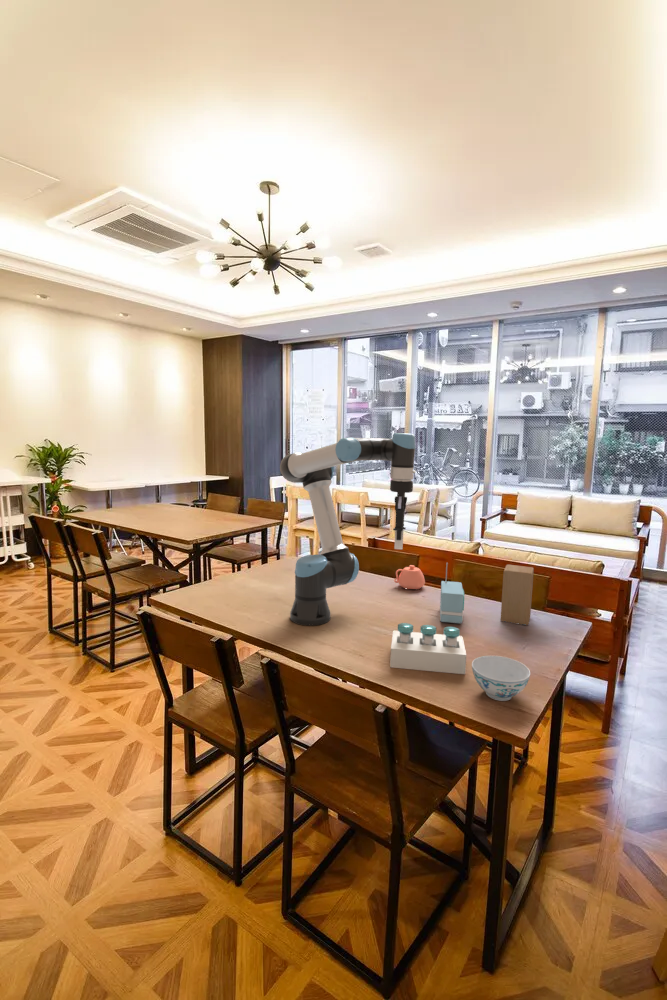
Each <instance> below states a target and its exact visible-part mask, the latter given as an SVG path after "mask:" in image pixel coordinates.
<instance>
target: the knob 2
mask: <svg viewBox="0 0 667 1000" xmlns="http://www.w3.org/2000/svg"><path fill="white" fill-rule="evenodd" d="M460 632H461V631H460V628H458V627H455V626H446V627H444V628H443V635H446V640H445V647H452V648H456V647H457V637H458V636H461V635H460Z"/></svg>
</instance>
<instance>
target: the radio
mask: <svg viewBox="0 0 667 1000" xmlns="http://www.w3.org/2000/svg"><path fill="white" fill-rule="evenodd" d="M445 565H446V567H445V581H444V580H441V582H440V599H439V600H440V602H439V604H440V605H439V621H440V622H442V623H447V624H448V623H449V624H462V623H463V621H464V620H463V619H464V617H463V612H464V609H465V590H464V588H463V584H462V582H459V581H449V580H448V581H447V579H448V565H449V563H448V562H446V564H445Z"/></svg>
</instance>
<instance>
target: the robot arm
mask: <svg viewBox="0 0 667 1000" xmlns="http://www.w3.org/2000/svg"><path fill="white" fill-rule="evenodd" d="M415 454H416V435H414V434H413V433H403V432H402V433H400V432H395V433H392V438H387V437H386V438H383V437H345V438H344V437H343V438H341V439H339V440H338V441H337V442H336V443H332V444H329V445H326V446H323V447H320V448H316V449H313V450H310V451H307V452H303V453H302V452H294V453H290V454H287V455H285V456H284V457H283V458H282V459H281V461H280V464H279V471H280V474H281V476H282V478H284V480H286V481H288V482H289V483H294V484H296V483H297V484H299V483H300V484H301V483H302V487H303V490H305V491H306V492H308V495H309V501H310V503H311V508H312V512H313V516H314V520H315V525H316V529H317V533H318V537H319V541H320V546H321V548H322V549H321V552H320V553H319V554H309V555H305V556H301V557H300V558H298V559H297V560H296V562H295V568H294V569H295V570H294V575H295V576H294V579H295V581H294V583H295V585H294V587H295V588H294V601H293V603H292V607H291V608H290V609H291V610H290V613H289V614H290V618H289V619H290V621H292V623H295V624H297V625H301V626H320V625H324V624H326V623H328V622H329V621H330V620H331V610H330V607H329V603H328V600H327V589H330V588H334V587H335V588H336V587H339V586H344V585H347V584H349V583H352V582H354V581H355V580H356V579H357V576H358V574H359V571H360V564H359V560H358V558H357V556H355V554H354V553H351V552H350V550H349V546H346V545H345V544H344V542H343V538H342V533H341V528H340V525H339V522H338V517H337V513H336V509H335V505H334V500H333V497H332V493H331V490H330V489H331V488H330V486H331V485H332V482H333V481H332V479H333V477H334V474H335V473H334V472H335V467H337V466H339V465H340V466H341V465H345V464H349V463H353V462H359V461H386V462H387V461H388V462H391V464H390V479H391V480H390V483H389V485H390V486H389V488H390V489H389V491H390V492H392V493H397V494H396V495H395V496H394V511H395V520H394V522H395V523H394V525H395V526H394V527H393V528H392V530H393V531H394V547H393V548H394V550H403V548H404V547H403V545H404V530H407V529H406V528H407V527H404V526H405V511H406V509H407V503H408V502H407V501H408V496H406V494H408V493H412V492H413V491H414V481H413V479H414V474H416V470H415V469H414V468H415V465H414V464H415Z"/></svg>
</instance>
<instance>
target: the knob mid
mask: <svg viewBox="0 0 667 1000" xmlns="http://www.w3.org/2000/svg"><path fill="white" fill-rule="evenodd" d="M419 630H420V632H419V633H422V634H423V636H422V645H429V646H433V641H434V635H435V634H437V627H436V626H435V625H432V624H423V625H421V626H420V628H419Z"/></svg>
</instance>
